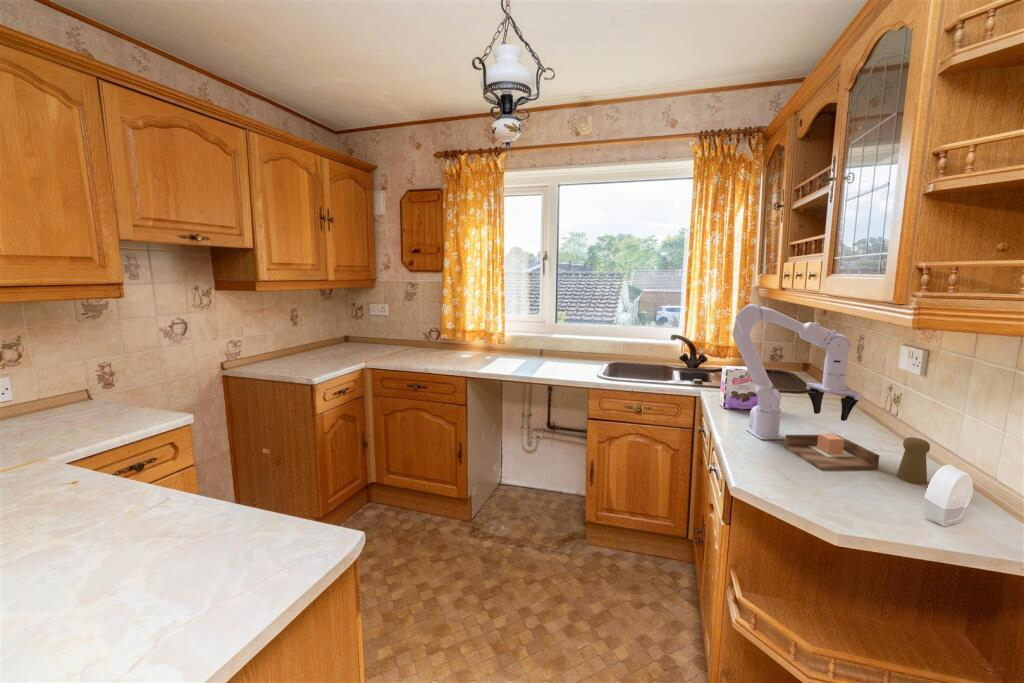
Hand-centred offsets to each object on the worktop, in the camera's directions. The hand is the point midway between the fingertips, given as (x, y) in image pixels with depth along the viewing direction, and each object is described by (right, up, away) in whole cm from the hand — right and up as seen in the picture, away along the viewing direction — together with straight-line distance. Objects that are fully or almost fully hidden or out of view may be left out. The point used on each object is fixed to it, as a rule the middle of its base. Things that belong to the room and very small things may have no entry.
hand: (830, 416), depth 139 cm
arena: (-6, -11, -8) cm, 14 cm away
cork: (+6, -13, -21) cm, 26 cm away
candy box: (-7, -3, +41) cm, 42 cm away
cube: (-4, -9, -6) cm, 12 cm away
